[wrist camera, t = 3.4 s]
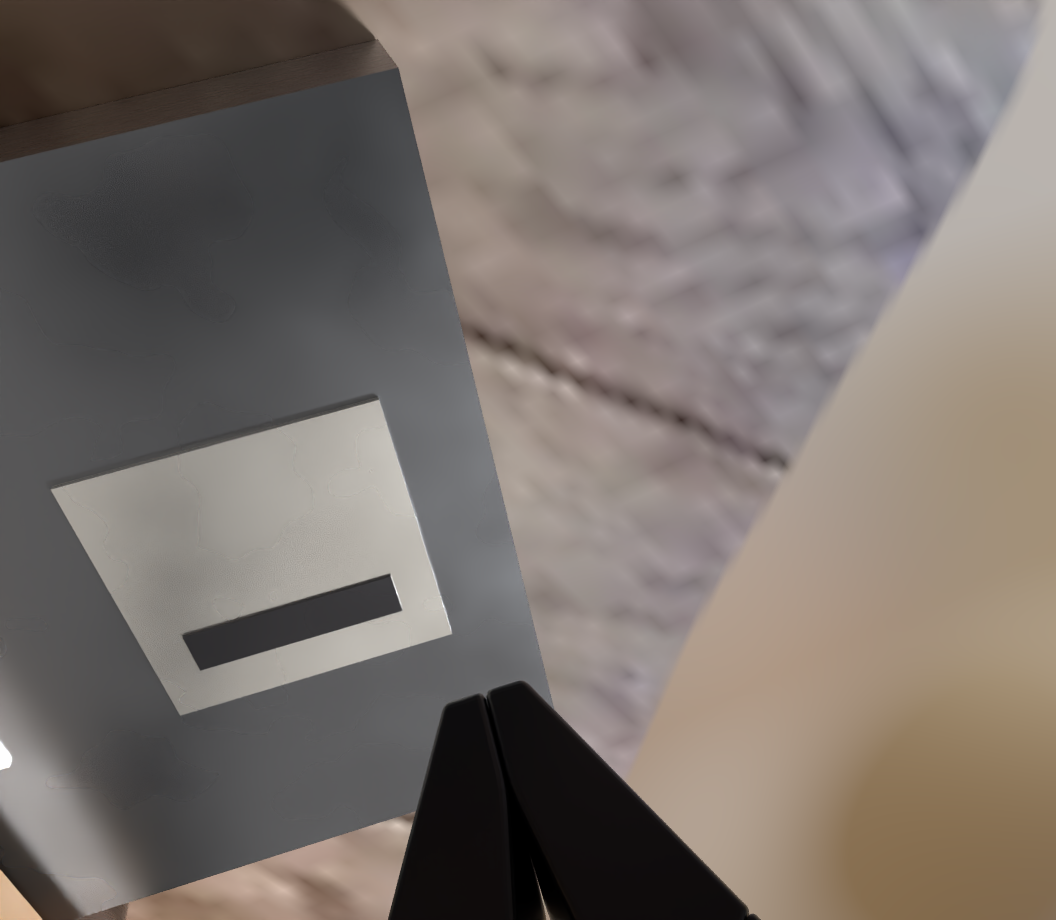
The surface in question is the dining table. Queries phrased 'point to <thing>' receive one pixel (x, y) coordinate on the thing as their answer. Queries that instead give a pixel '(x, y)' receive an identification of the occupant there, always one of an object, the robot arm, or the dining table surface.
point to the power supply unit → (233, 482)
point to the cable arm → (14, 903)
